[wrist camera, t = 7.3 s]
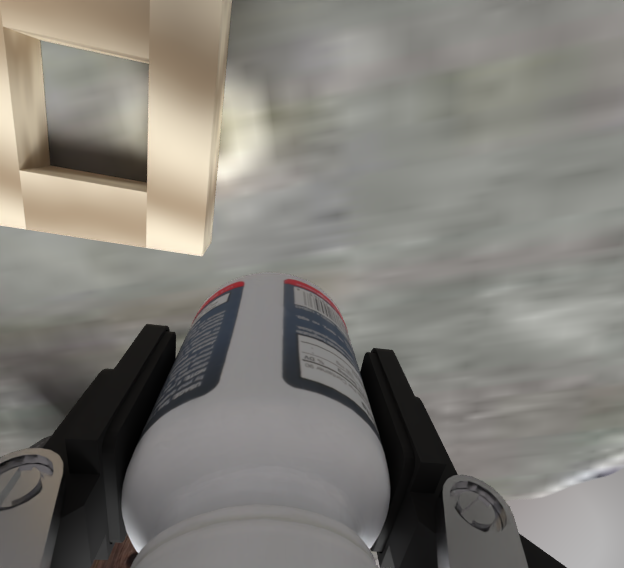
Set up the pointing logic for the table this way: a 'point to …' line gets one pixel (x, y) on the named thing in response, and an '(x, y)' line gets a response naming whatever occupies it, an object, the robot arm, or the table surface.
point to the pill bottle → (260, 440)
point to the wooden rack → (161, 121)
